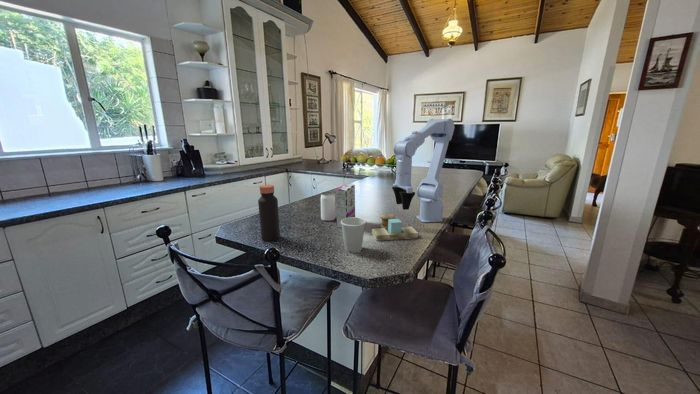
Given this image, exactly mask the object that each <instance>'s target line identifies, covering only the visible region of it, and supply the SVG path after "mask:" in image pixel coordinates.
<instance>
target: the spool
mask: <svg viewBox="0 0 700 394" xmlns="http://www.w3.org/2000/svg"><path fill="white" fill-rule="evenodd" d="M379 216H380V217H379V218H380V219H381V224H380V225H379V227H380V228H385V229H386V231H388V219H396V215H395V214H392V213H381V214H380V215H379Z"/></svg>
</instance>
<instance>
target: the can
mask: <svg viewBox="0 0 700 394" xmlns="http://www.w3.org/2000/svg"><path fill="white" fill-rule="evenodd" d="M320 194H321V195H320V220H321V221H324V222H331V221H335V220H336V194H335V193H334V192H333V191H325V192H321V193H320Z"/></svg>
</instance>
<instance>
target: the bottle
mask: <svg viewBox="0 0 700 394" xmlns="http://www.w3.org/2000/svg"><path fill="white" fill-rule="evenodd" d="M259 193H260V197H259V198H258V200H257V204H258V205H257V206H258V213H259V214H258V215H259V226H260V237H261V240H262V241H263V242H275V241H277V240H279V239H280V238H281V228H280V214H279V201H278V200H279V199H278V198H277V197H276V196H275V195H274V194H275V186H274V185H273V184H263V185H260V186H259Z"/></svg>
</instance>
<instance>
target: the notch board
mask: <svg viewBox="0 0 700 394" xmlns="http://www.w3.org/2000/svg"><path fill="white" fill-rule="evenodd" d="M371 234H372V236H373V238H374V239H375V240H376V241H390V240H391V241H393V240H405V239H406V240H408V239H409V240H410V239H418V238H419V232H418V231H417V230H416V229H415V228H413V226H402V229H401V233H393V234H389V233H388V230H386V229H385V228H378V227H377V228H371Z"/></svg>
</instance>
